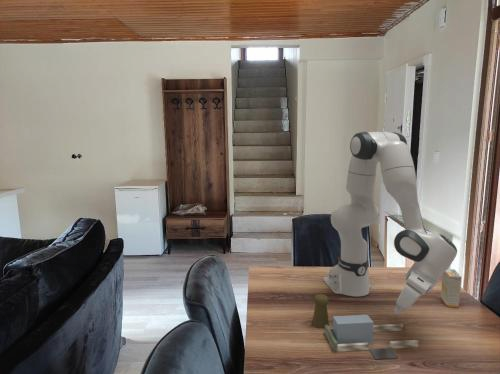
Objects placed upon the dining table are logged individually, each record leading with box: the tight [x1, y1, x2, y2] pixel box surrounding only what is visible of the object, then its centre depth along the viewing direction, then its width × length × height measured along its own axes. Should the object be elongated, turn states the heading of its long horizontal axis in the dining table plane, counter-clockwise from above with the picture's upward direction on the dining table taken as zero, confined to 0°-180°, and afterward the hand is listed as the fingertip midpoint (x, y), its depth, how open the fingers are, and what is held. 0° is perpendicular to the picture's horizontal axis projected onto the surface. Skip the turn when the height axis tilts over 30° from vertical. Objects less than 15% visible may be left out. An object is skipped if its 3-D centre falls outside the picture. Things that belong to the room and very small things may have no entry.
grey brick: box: [332, 314, 374, 346], centre depth 121 cm, size 12×5×8 cm, turn 95°
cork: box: [311, 293, 330, 329], centre depth 132 cm, size 6×6×11 cm
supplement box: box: [440, 268, 462, 308], centre depth 147 cm, size 8×5×13 cm, turn 168°
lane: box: [324, 323, 419, 360], centre depth 122 cm, size 28×21×3 cm
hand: (396, 311), depth 123 cm, fingers closed
